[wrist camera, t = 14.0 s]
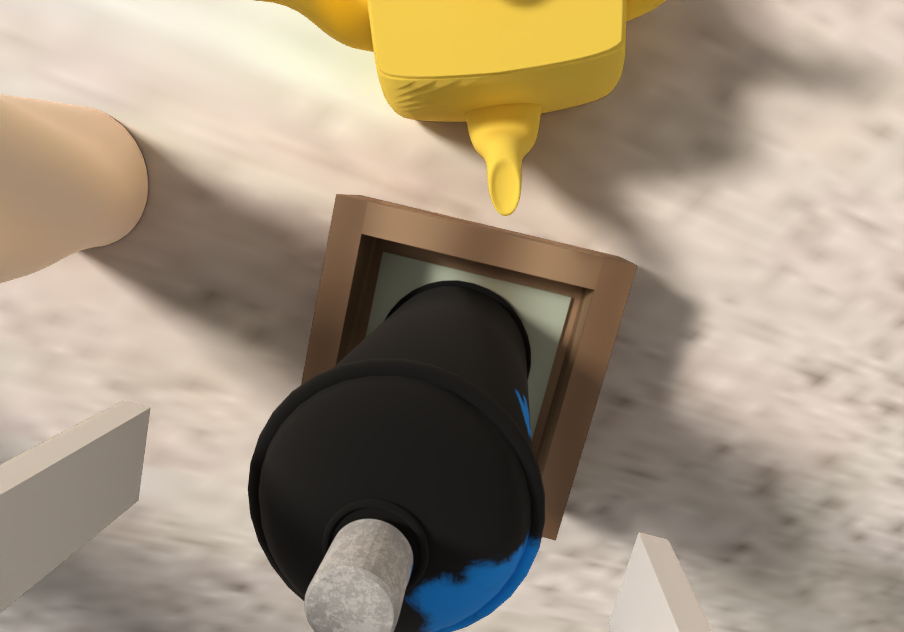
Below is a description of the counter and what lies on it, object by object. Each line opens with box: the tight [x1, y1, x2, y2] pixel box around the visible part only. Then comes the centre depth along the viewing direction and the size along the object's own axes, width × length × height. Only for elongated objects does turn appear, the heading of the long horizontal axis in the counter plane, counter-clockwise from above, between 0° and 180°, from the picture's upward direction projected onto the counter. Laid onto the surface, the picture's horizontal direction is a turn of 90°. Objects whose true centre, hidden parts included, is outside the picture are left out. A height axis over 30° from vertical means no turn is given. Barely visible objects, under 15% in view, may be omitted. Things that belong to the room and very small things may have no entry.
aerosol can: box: [248, 280, 545, 632], centre depth 22 cm, size 8×8×20 cm
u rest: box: [301, 194, 637, 540], centre depth 30 cm, size 14×14×4 cm
